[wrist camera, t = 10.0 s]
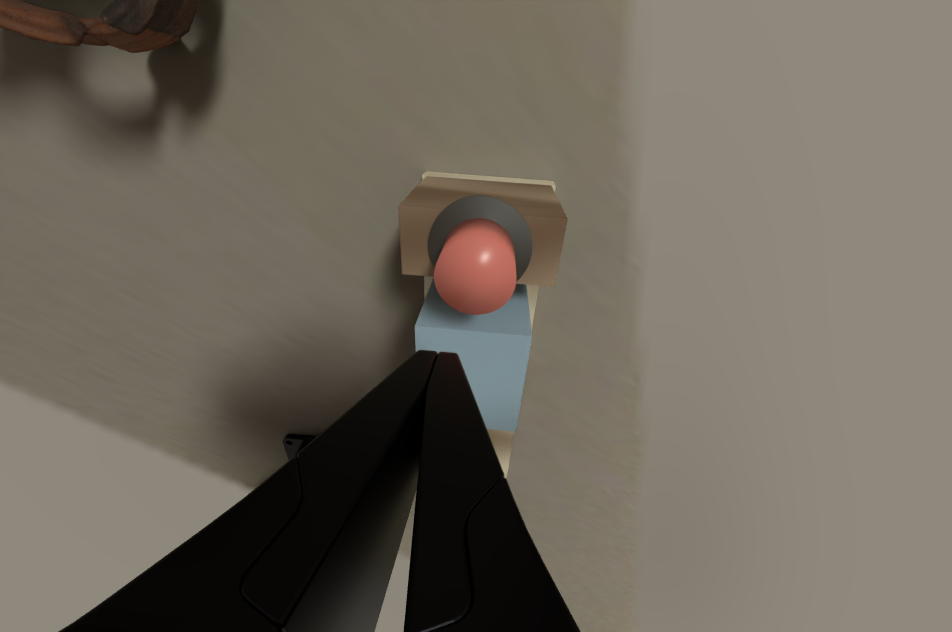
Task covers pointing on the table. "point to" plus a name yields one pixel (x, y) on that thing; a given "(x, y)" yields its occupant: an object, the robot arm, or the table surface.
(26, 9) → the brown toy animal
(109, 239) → the table surface
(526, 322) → the light blue block
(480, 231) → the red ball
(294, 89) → the table surface
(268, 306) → the table surface
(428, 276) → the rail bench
